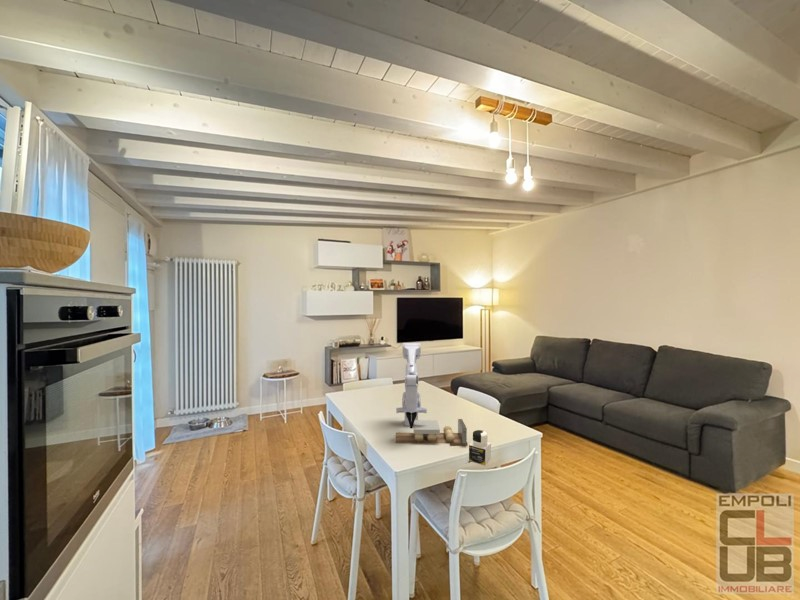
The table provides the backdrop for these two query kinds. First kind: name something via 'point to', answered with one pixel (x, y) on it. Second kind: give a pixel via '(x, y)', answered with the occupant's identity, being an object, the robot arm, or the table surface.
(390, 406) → the table surface
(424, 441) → the roller board
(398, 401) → the table surface
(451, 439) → the roller
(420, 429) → the slab
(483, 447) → the medicine bottle
